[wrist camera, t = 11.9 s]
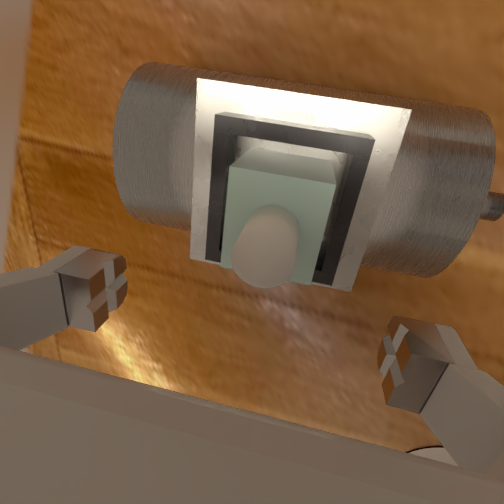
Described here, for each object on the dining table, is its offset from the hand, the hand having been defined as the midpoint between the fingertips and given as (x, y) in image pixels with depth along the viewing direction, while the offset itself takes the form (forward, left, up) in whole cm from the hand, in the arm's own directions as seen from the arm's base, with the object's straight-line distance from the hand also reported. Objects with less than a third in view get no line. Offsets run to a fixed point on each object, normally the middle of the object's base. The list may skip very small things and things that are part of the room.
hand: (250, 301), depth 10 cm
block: (0, 0, -11) cm, 11 cm away
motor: (0, -2, -24) cm, 24 cm away
